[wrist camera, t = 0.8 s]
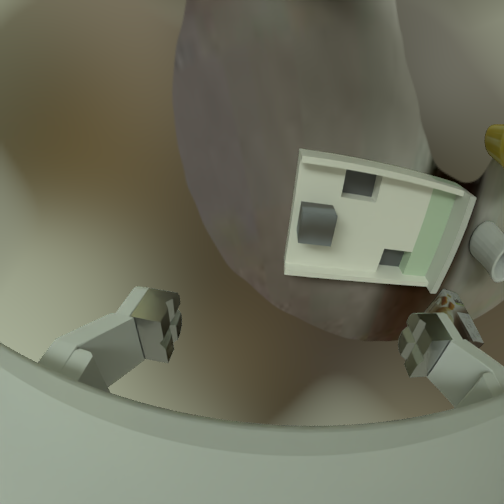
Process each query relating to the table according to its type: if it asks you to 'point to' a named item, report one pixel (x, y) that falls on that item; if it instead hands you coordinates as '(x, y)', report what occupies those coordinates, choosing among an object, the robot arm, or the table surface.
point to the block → (316, 223)
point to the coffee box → (456, 315)
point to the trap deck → (377, 222)
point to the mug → (489, 249)
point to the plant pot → (495, 142)
